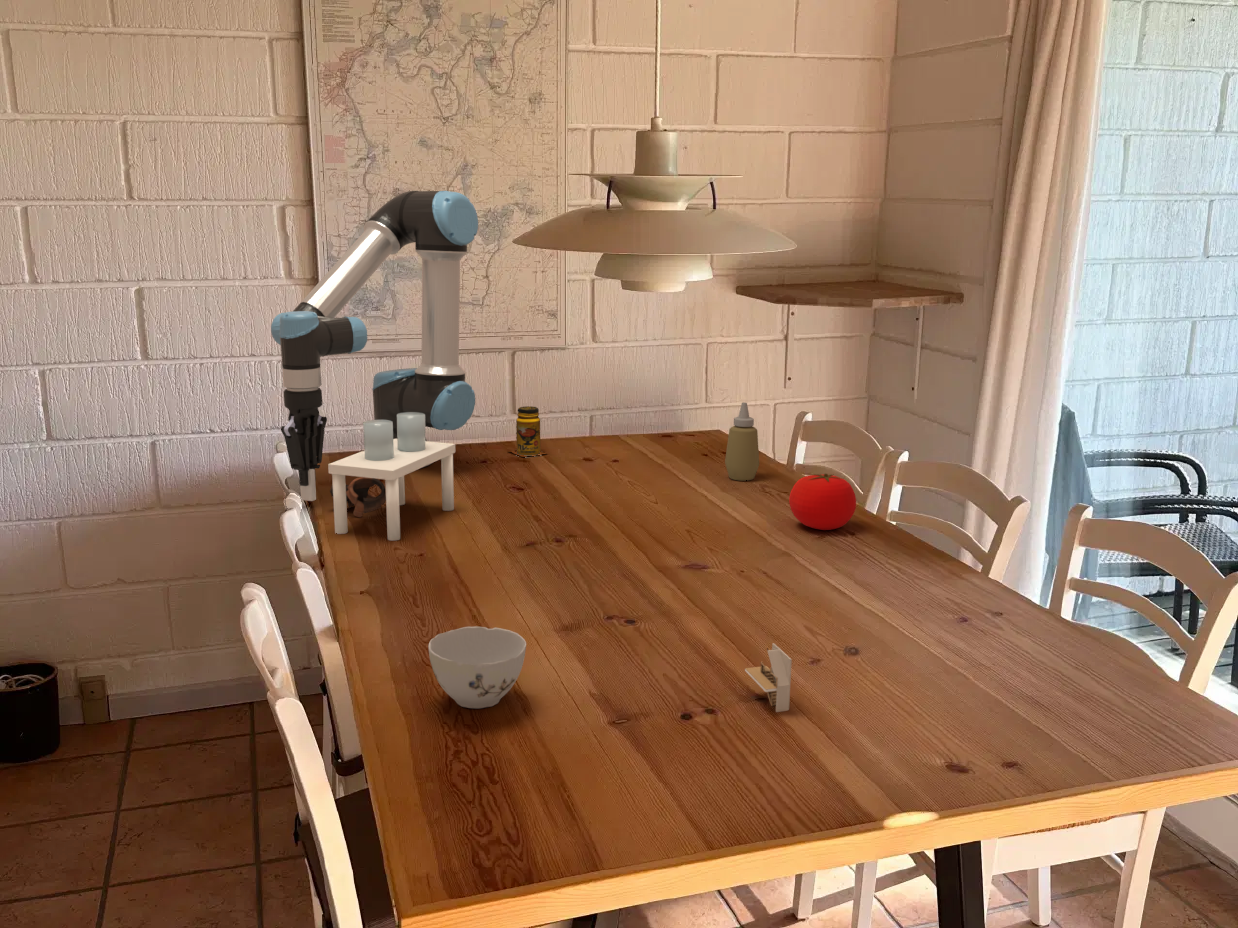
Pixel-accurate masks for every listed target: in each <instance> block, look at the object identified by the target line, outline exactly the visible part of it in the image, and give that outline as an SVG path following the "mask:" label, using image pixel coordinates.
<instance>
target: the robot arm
mask: <svg viewBox="0 0 1238 928" xmlns="http://www.w3.org/2000/svg"><path fill="white" fill-rule="evenodd" d="M478 230H479V217H478V213H477V210H476V207H475V206H474V203H472V202H471V201H470V199H469V198H468V197H467V196H466V195H465V194H463V193H462V192H456V191H449V190H410V191H409V190H407V191H404V192H402V193H400V194H398V195H396V196H394V197H393V198H391V199H390V200H388V201H387V202H386V203H385V204H383V205H382V206H381V207H380V208H378V210H376V211H375V212H374V213H373V214H372V215H371V216H370V218H368V220H367V221H366V222H365V223H364V225H363V232H362V233H361V234H360V235H359V237H358V238H357V239H356V240H355V241H354V243H352V244H351V245H350V247H349V248H348V249H347V250H346V251H345V252H344V253H343V254H342V256H341V257H340V258H339V259H338V260H337V261H336V263H334V265H333V266H332V267H331V268H330V269H329V270H328V271H327V273H326V274H324V276H323V277H321V279H320V280H319V281H318V283H316V285H315V286H314V287H313V288H312V289H311V291H309V293H308V294H307V295H306V296H305V297H304V298H303V299H302V300H301V301H300V303H299V304H298V305H297V306H296V307H295V308H294V309H293V310H292V311H286V312H285V311H284V312H281V313H279V314H277V315H276V316H275V317H274V318H273V319H272V322H271V325H270V332H271V333H270V334H271V336H272V338H273V340H274V342H276V343H277V344H278V345H279V346H280V353H281V354H280V355H281V367H282V380H283V382H282V385H283V387H284V388H285V389H284V390H283V403H284V404H283V405H284V408H286V409H287V410H288V411H289V413H288V417H287V419H288V423H286V425H282V426H281V427H280V431H281V433H282V435H283V437H284V441H285V446H286V450H287V454H288V459H289V464H290V467H291V469H292V470H295V471H296V470H297V472H298V480H299V481H298V483H299V488H300V489H299V490H300V499H301V498H302V500H301V501H308V502H313V501H315V500H317V491H316V490H317V489H316V486H317V485H316V479H317V478H316V469H320V467H321V465H320V464H321V463H322V461H323V451H324V442H325V441H324V439H325V431H326V429H325V428H326V425H327V421H328V418H327V416H322V415H320V410H319V408H321V407H322V405H323V394H322V393H323V392H322V391H323V390H322V389H321V386H322V384H323V383H322V371H321V370H322V369H321V357H325V356H327V357H329V356H337V355H345V354H351V353H352V354H353V353H357V352H360V351H362V350H363V349H364V348H365V347H366V345H367V342H368V330H367V327H366V325H365V323H364V321H363V320H362V319H361V318H359V317H356V316H342V317H337V315H339V313H340V312H341V311H342V310H343V309H344V307H345V306H346V305H347V304H348V303H349V302H350V301H351V299H353V297H354V296H355V295H356V294H357V293H358V291H360V289H361V288H362V287H363V286H364V285H365V283H366V282H368V280H369V279H370V278H371V277H372V276H373V275H374V273H375V272H376V271H377V270H378V269H379V268H380V266H381V265H382V264H383V263H384V262H385V261H386V259H388V257H389V256H390V255H392V256H393V255H396V254H398V253H399V252H400V250H402V249H403V247H405V246H406V245H409V244H413V243H414V245H415V253H417V254H418V255H419V257H420V259H421V358H420V360H421V361H420V364H419V366H418V367H412V368H411V367H410V368H400V369H399V368H398V369H392V370H391V369H389V370H383V371H379V372H377V373H375V374H374V376H373V379H372V381H373V382H372V388H371V389H372V400H373V401H372V402H373V416H374V417H373V418H374V419H373V420H390V421H392V422H393V439H397V414H399V413H404V412H419V413H424V414H425V428H426V427H427V428H431V429H436V430H438V431H443V430H444V431H456V430H458V429H461V428H462V427H464V426H465V425H466V424H467V422H468V420H470V418H471V417H472V415H473V414H474V410H475V406H476V394H475V390H474V389H473V386H472V385H471V384H469V383H468V382H466V371H465V370H464V369H463V368H462V367H461V365H460V303H461V301H460V300H461V299H460V297H461V295H460V294H461V293H460V289H461V288H460V287H461V260H462V259H463V258H464V256H466V255H467V254H468V245H469V244H470V243H472V242H473V241H474V240H475V236H477V235H478ZM425 441H428V440H427V437H426V436H425ZM430 465H431V464H428V465H426V466H424V467H423V468H425V467H428V466H430Z"/></svg>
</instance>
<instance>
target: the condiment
mask: <svg viewBox="0 0 1238 928" xmlns="http://www.w3.org/2000/svg"><path fill="white" fill-rule="evenodd" d="M539 412H540V411H539V407H537V406H527V405H526V406H521V407H518V408H517V418H516V421H515V423H516V425H515V429H516V433H515V434H516V437H515V438H516V442H515V443H516V450H517V454H519V455H524V456H532V455H538V454H540V451H542V450H541V447H542V446H541V419H540V418H539V416H540V413H539Z"/></svg>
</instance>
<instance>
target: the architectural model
mask: <svg viewBox="0 0 1238 928" xmlns="http://www.w3.org/2000/svg"><path fill="white" fill-rule="evenodd" d="M766 650H767V654H768V659H769V662H770V668H769V667H768V666H767V665H764V661H763V660H761V662H760V666H754V667H745V668H744V672H746V674H748V676H749V677H750V678H751V679H752V680H753V681H754V682H755V684H757V685H758V686H759V688H760V689H762V690H763V692H765V693H766V694H767V697H768V700H769V703H770V706H771V707H773V706H775V713H779V712H786V711H789V710H790V699H791V698H790V697H791V680H792V679H791V677H792V663H793V662H792V661H793V660H792V658H791V657H789V655H788V654H786V653H785V651H783V650H782V649H781V648H780V647H779V646H777V644H776V643H773V642H772V646H771V650H770V649H769V648H768V647H767V648H766Z"/></svg>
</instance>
